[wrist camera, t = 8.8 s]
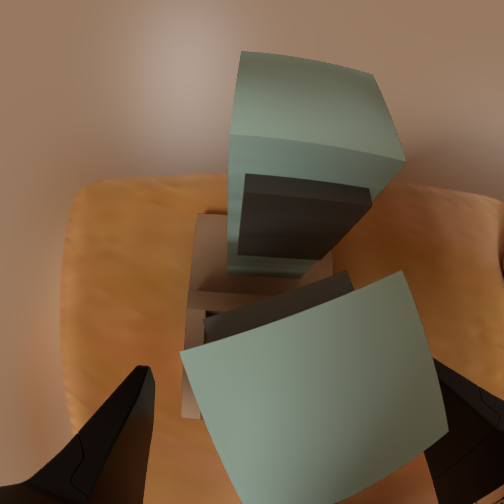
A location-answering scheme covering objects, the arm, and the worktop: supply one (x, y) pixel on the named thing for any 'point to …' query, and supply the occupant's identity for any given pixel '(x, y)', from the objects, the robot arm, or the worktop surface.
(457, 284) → the worktop surface
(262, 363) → the block
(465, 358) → the worktop surface
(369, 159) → the green block with base
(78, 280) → the worktop surface
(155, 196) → the worktop surface
